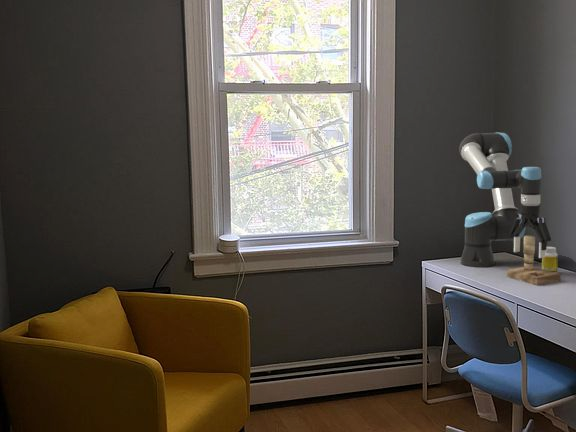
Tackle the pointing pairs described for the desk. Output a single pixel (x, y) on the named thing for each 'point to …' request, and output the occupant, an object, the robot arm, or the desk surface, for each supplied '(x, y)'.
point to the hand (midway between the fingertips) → (529, 254)
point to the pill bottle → (550, 260)
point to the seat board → (534, 275)
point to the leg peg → (529, 252)
